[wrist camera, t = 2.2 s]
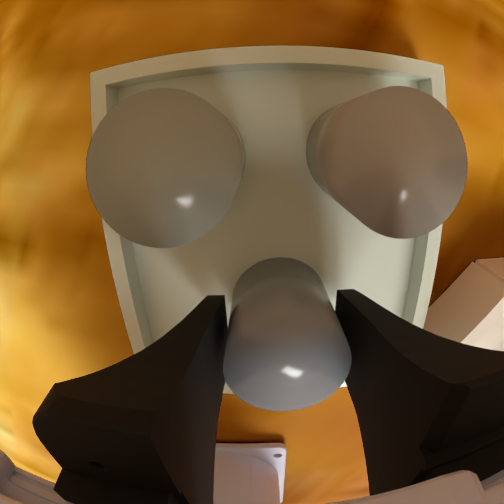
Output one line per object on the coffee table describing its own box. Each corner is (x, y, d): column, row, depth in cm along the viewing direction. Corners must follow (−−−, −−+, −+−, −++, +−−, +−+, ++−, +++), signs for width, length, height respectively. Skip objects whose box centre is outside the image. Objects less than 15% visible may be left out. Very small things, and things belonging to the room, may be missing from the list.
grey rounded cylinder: (322, 335, 13) (342, 405, 9) (235, 340, 13) (229, 412, 9) (327, 255, 11) (359, 311, 8) (228, 259, 11) (216, 318, 8)
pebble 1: (248, 206, 11) (244, 244, 7) (148, 212, 11) (98, 251, 7) (242, 101, 9) (235, 78, 6) (139, 113, 10) (80, 104, 6)
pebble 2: (400, 203, 11) (460, 237, 7) (306, 204, 11) (333, 241, 7) (401, 107, 9) (466, 98, 6) (303, 100, 9) (331, 78, 6)
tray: (397, 356, 14) (408, 376, 12) (154, 367, 14) (145, 389, 13) (422, 71, 9) (443, 65, 8) (109, 78, 10) (90, 72, 8)
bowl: (501, 383, 15) (520, 409, 12) (385, 417, 15) (399, 454, 13) (549, 253, 12) (581, 272, 9) (426, 263, 12) (461, 294, 9)
